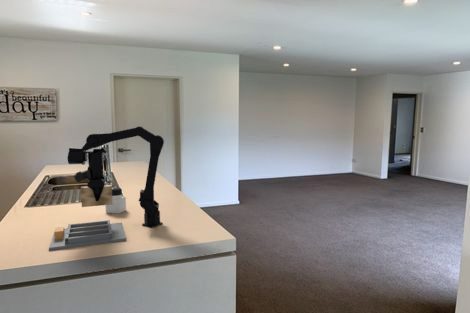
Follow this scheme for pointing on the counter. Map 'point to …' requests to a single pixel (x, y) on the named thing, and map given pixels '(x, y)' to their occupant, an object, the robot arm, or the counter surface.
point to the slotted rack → (87, 234)
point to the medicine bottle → (117, 202)
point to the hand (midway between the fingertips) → (97, 200)
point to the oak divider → (89, 197)
